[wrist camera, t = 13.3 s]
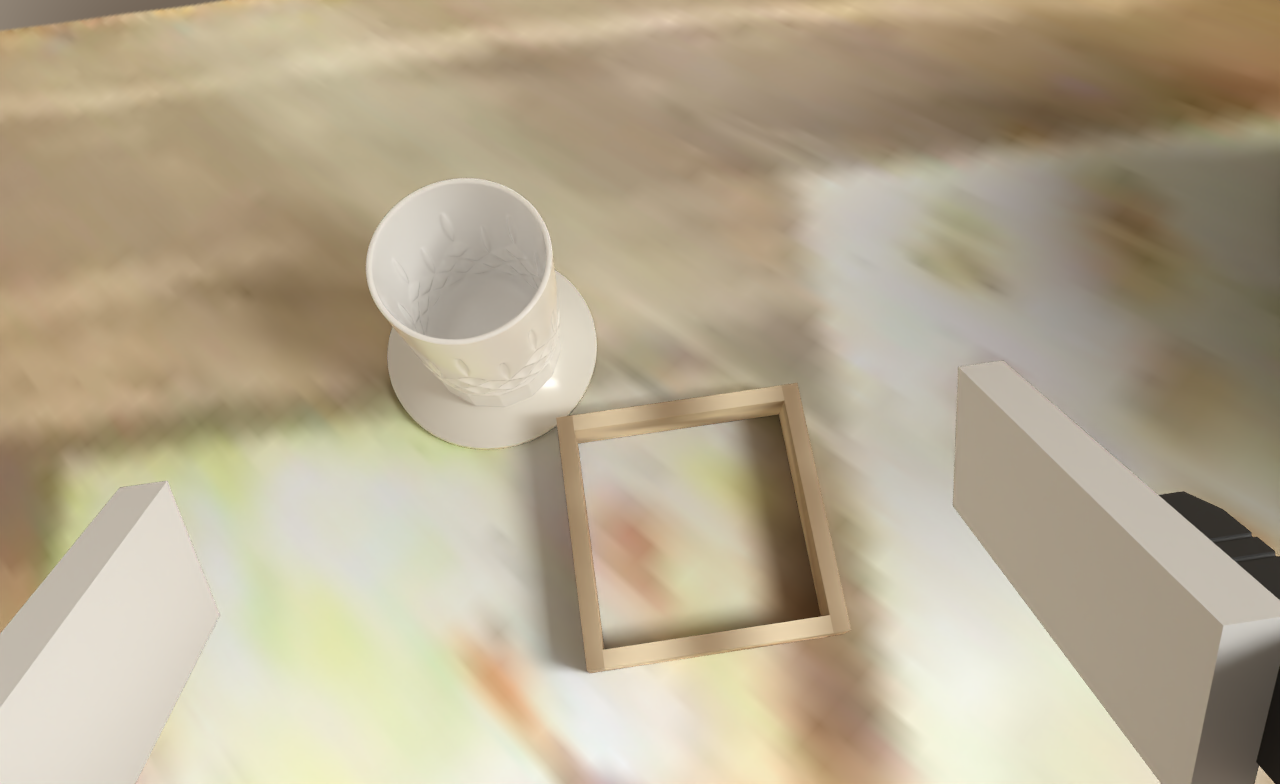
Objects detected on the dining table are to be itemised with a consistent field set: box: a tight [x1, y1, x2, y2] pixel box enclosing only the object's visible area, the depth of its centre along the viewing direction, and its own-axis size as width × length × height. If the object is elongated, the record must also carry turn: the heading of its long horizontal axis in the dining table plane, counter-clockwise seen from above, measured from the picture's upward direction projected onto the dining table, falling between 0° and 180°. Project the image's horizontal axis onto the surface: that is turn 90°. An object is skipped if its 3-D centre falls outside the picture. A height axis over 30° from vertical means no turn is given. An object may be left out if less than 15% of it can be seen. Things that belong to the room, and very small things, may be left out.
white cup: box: [366, 178, 561, 407], centre depth 43 cm, size 8×8×10 cm
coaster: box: [387, 270, 597, 450], centre depth 48 cm, size 11×11×1 cm
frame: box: [556, 383, 851, 673], centre depth 44 cm, size 12×12×2 cm
